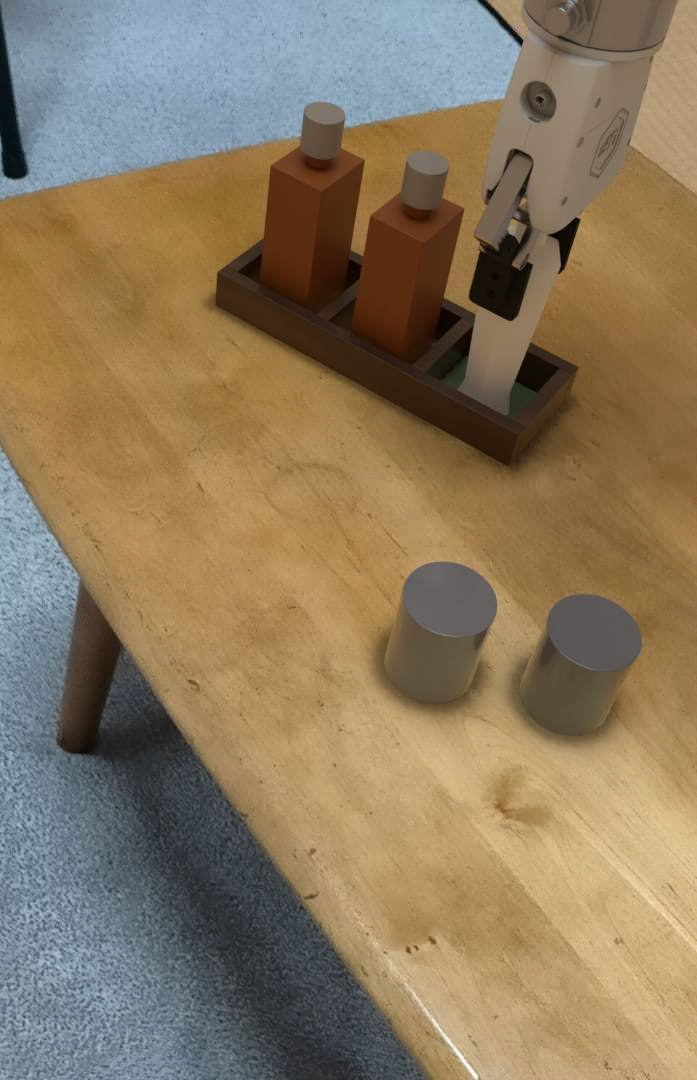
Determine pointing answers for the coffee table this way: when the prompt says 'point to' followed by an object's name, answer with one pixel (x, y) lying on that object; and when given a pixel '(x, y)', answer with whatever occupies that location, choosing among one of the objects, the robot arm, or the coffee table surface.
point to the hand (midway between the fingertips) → (517, 283)
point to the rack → (394, 377)
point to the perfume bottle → (509, 330)
